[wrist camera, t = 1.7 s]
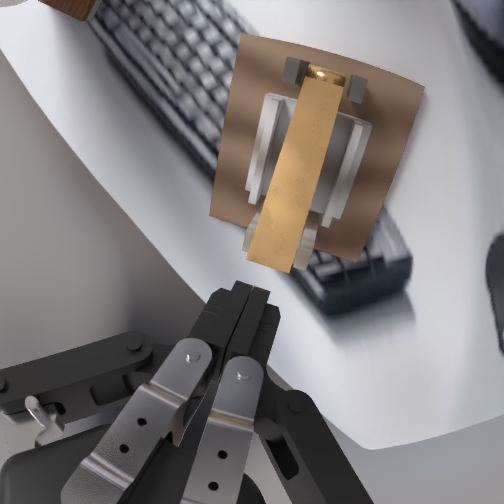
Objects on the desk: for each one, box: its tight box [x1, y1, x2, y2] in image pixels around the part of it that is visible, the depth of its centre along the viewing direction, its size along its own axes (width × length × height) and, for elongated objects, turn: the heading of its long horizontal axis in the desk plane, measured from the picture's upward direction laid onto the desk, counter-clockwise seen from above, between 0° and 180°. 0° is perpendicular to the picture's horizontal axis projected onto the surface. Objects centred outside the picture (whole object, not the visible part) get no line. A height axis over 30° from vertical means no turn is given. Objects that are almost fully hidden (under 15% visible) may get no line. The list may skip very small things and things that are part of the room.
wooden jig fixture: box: [209, 34, 425, 271], centre depth 28 cm, size 21×18×9 cm
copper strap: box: [246, 64, 347, 273], centre depth 21 cm, size 16×3×2 cm, turn 170°
